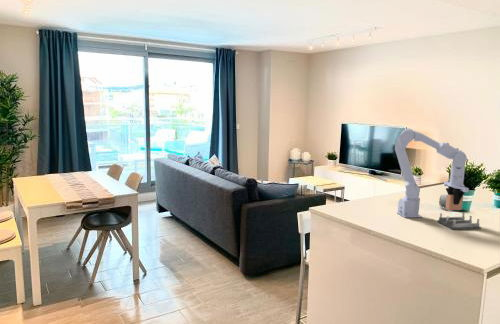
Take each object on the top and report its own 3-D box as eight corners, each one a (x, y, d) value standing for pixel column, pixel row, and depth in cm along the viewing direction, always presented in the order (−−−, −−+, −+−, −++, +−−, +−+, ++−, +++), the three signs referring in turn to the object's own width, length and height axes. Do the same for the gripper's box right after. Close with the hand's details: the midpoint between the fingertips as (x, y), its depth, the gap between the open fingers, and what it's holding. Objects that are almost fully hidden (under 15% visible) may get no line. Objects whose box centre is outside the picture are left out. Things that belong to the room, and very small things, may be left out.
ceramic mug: (441, 205, 215) (442, 192, 213) (457, 208, 209) (458, 194, 208) (436, 209, 206) (437, 195, 205) (453, 212, 201) (454, 198, 200)
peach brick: (448, 210, 182) (450, 195, 181) (445, 208, 184) (446, 194, 183) (461, 209, 183) (463, 195, 182) (458, 208, 185) (459, 194, 184)
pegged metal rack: (452, 229, 171) (454, 220, 171) (437, 222, 182) (438, 213, 182) (480, 229, 174) (481, 219, 173) (463, 221, 184) (464, 212, 184)
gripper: (475, 179, 174) (472, 207, 177) (454, 173, 189) (451, 199, 191) (462, 179, 173) (458, 207, 175) (441, 173, 187) (438, 199, 190)
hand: (454, 203), depth 183 cm, fingers closed on peach brick, 2 cm apart
